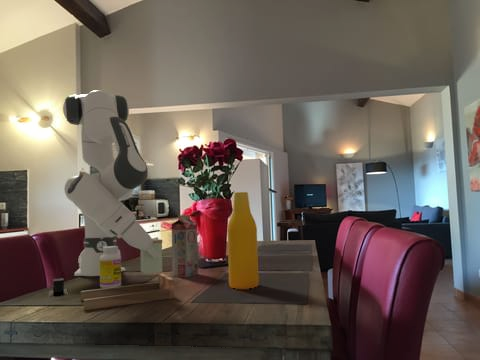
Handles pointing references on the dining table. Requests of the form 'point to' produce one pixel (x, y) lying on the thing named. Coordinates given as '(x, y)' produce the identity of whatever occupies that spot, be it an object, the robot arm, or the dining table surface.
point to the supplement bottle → (110, 267)
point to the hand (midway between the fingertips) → (153, 254)
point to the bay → (129, 294)
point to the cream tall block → (152, 259)
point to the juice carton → (184, 247)
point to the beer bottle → (242, 245)
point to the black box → (58, 288)
